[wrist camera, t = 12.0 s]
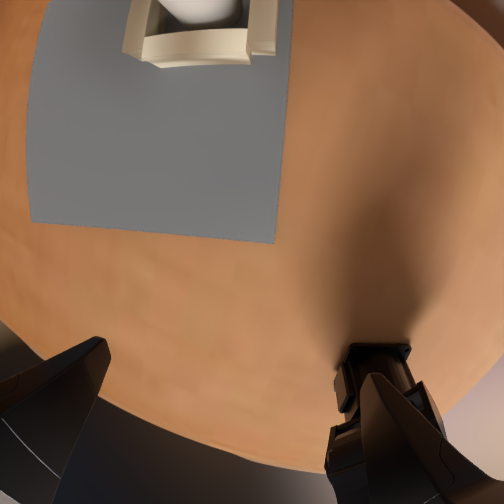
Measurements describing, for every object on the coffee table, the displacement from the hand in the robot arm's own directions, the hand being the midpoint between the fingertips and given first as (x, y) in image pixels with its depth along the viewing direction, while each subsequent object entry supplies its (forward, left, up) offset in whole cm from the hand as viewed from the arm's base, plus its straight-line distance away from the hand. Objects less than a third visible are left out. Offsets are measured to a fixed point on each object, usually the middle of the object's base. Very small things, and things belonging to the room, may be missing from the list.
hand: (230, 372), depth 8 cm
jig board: (+10, -11, -13) cm, 20 cm away
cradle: (+4, -17, -13) cm, 22 cm away
